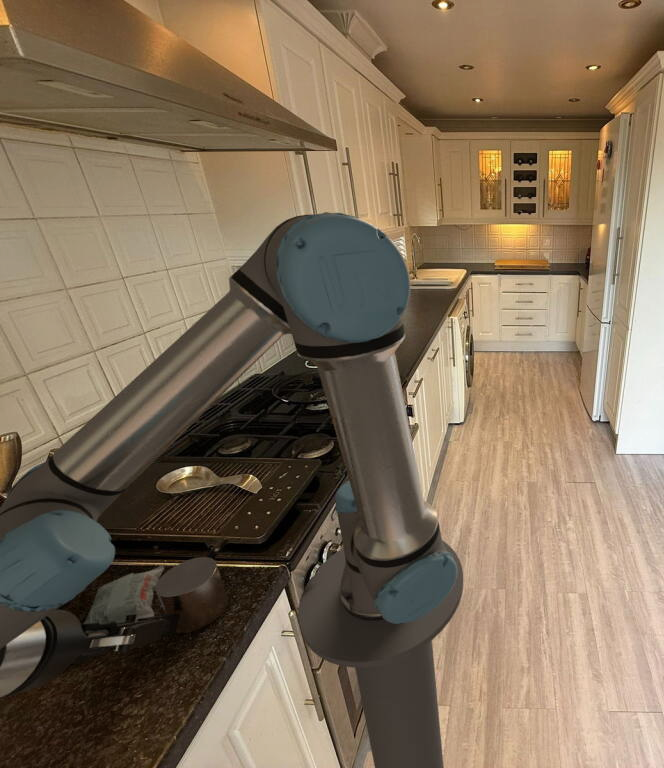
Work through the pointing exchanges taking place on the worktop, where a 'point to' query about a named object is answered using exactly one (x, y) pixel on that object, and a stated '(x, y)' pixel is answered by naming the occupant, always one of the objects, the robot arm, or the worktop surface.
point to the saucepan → (194, 591)
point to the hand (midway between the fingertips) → (173, 623)
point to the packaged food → (125, 598)
